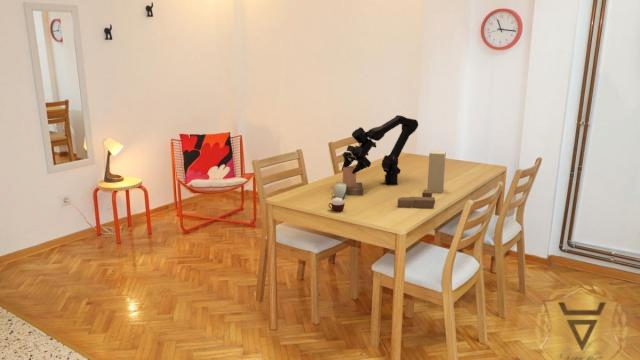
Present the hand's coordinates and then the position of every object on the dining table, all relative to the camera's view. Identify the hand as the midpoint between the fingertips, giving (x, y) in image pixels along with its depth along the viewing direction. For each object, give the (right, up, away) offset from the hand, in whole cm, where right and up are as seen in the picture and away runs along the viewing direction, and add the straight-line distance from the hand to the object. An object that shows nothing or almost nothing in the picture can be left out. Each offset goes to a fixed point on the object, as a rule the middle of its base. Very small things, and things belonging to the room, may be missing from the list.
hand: (347, 171), depth 276 cm
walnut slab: (+1, -10, +4) cm, 11 cm away
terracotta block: (+1, -8, +3) cm, 8 cm away
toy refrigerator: (+47, -10, +3) cm, 49 cm away
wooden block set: (+33, -16, -17) cm, 40 cm away
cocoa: (-6, -19, -27) cm, 34 cm away
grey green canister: (-4, -13, -7) cm, 16 cm away
